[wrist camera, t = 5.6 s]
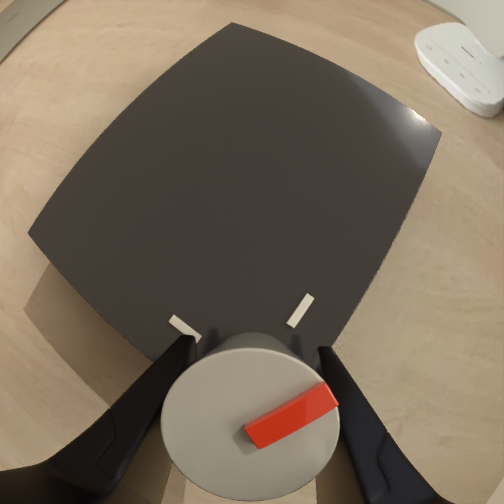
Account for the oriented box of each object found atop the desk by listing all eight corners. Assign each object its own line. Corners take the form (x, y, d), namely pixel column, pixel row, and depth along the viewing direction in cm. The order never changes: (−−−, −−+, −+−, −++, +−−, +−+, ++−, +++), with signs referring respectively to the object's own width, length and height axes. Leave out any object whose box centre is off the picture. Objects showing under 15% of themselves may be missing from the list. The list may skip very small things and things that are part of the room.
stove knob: (236, 433, 10) (219, 528, 4) (189, 359, 11) (121, 399, 5) (315, 390, 11) (372, 456, 4) (268, 314, 11) (285, 311, 5)
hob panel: (269, 452, 14) (273, 490, 10) (50, 273, 16) (8, 261, 12) (436, 180, 17) (469, 152, 13) (234, 61, 19) (231, 20, 15)
